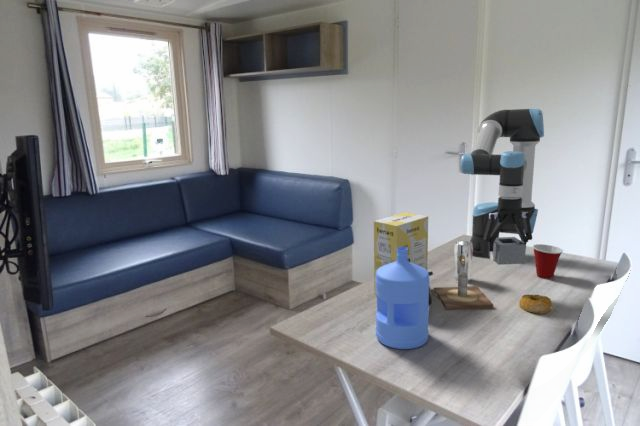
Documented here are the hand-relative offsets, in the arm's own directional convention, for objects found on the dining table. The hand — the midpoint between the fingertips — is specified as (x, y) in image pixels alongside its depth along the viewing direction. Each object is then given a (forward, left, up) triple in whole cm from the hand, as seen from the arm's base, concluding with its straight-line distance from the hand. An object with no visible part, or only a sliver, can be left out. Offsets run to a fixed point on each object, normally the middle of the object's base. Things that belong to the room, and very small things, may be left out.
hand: (506, 259), depth 158 cm
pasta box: (-8, -36, -14) cm, 39 cm away
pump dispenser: (+10, -34, -14) cm, 38 cm away
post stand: (+2, -16, -14) cm, 21 cm away
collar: (0, 0, 0) cm, 0 cm away
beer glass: (-17, -10, -14) cm, 24 cm away
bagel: (+11, +6, -14) cm, 19 cm away
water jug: (+27, -42, -14) cm, 52 cm away
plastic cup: (-17, +23, -14) cm, 32 cm away
